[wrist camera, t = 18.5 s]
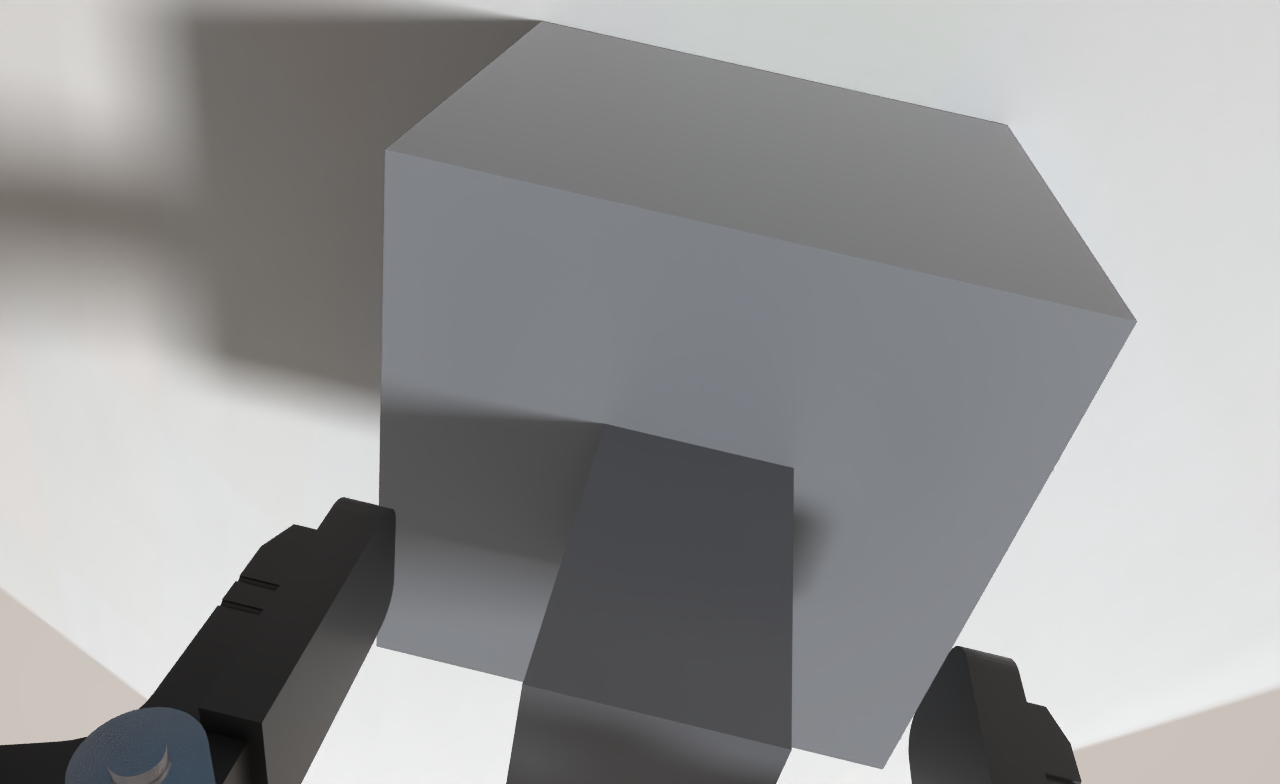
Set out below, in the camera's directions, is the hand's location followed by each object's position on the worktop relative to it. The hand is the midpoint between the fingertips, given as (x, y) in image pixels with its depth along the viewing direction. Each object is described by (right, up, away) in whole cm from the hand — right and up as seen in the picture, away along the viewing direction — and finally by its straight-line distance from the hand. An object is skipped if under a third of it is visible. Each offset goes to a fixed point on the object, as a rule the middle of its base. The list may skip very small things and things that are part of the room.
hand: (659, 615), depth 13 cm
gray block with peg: (+2, +6, +9) cm, 11 cm away
